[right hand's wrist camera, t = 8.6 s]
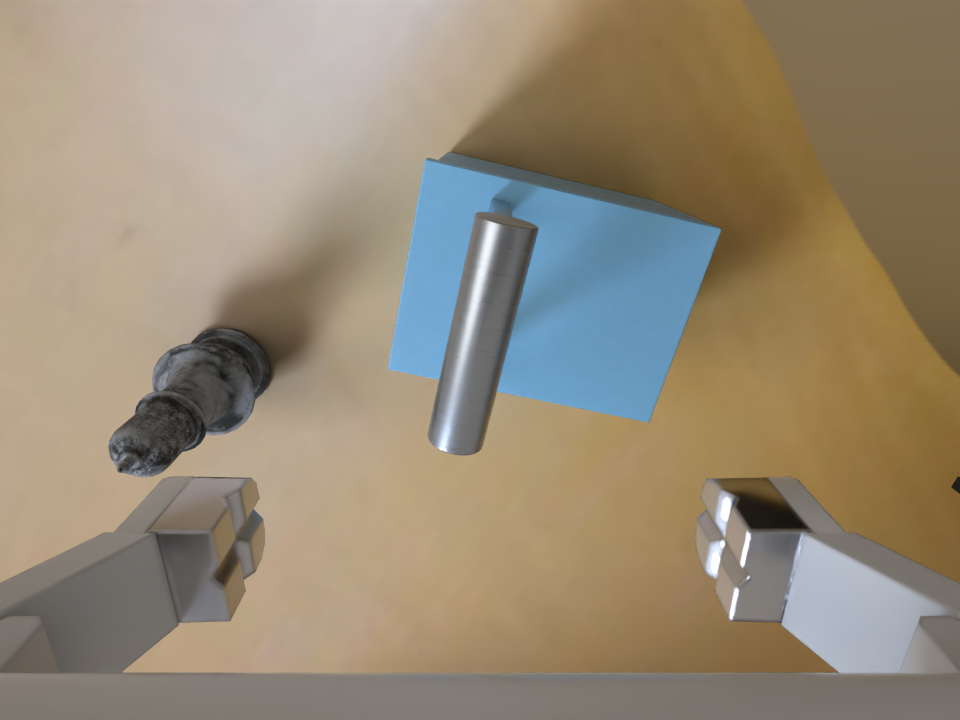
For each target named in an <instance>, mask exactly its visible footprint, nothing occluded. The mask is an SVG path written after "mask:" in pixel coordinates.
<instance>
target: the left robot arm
mask: <svg viewBox="0 0 960 720" xmlns="http://www.w3.org/2000/svg"><path fill="white" fill-rule="evenodd" d="M952 488H953V489H954V490H956V491H957V492H958V493H959V494H960V477H957V479H956V481H955V482H954V484H953V485H952Z"/></svg>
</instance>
